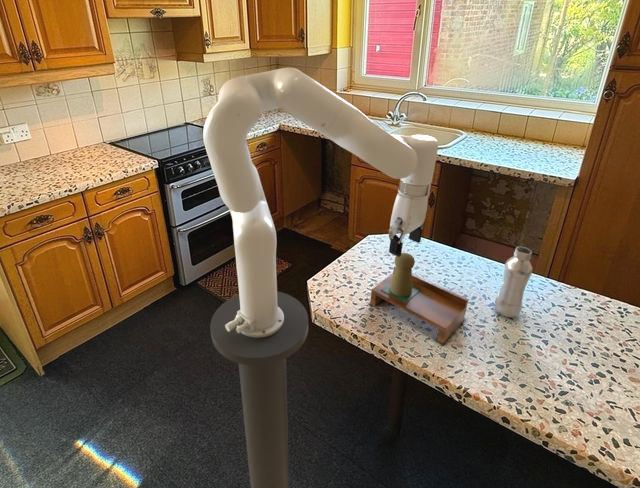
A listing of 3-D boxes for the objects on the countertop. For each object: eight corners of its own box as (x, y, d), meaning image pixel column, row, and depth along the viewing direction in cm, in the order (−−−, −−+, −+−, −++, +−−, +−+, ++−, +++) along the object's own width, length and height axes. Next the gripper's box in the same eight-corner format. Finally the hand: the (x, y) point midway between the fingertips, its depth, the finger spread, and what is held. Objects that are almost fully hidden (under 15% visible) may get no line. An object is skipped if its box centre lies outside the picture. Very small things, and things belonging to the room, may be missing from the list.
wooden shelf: (443, 344, 99) (447, 322, 96) (370, 303, 112) (371, 283, 109) (463, 320, 107) (468, 299, 103) (393, 284, 120) (395, 265, 117)
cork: (388, 293, 108) (392, 259, 103) (391, 280, 113) (395, 248, 108) (411, 298, 106) (416, 264, 102) (412, 285, 112) (417, 251, 107)
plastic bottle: (506, 323, 105) (525, 260, 97) (487, 307, 111) (503, 246, 102) (524, 317, 108) (544, 254, 99) (505, 301, 113) (522, 241, 104)
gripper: (418, 174, 104) (409, 231, 112) (381, 192, 93) (373, 254, 100) (445, 182, 100) (433, 241, 107) (409, 202, 88) (399, 266, 96)
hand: (404, 247), depth 104 cm, fingers open, 9 cm apart
